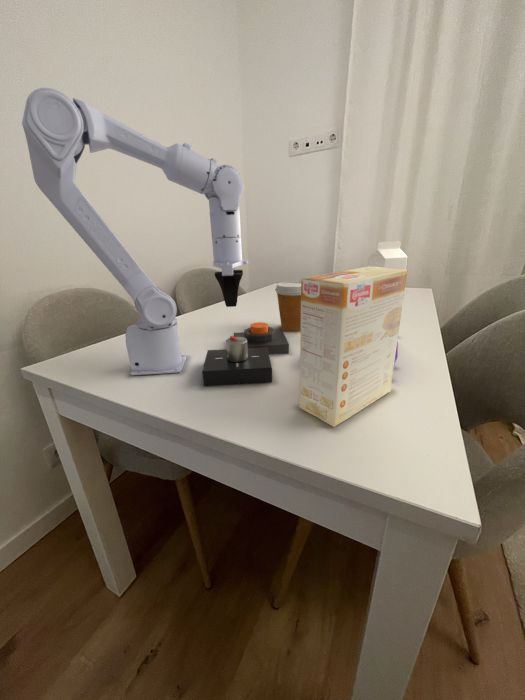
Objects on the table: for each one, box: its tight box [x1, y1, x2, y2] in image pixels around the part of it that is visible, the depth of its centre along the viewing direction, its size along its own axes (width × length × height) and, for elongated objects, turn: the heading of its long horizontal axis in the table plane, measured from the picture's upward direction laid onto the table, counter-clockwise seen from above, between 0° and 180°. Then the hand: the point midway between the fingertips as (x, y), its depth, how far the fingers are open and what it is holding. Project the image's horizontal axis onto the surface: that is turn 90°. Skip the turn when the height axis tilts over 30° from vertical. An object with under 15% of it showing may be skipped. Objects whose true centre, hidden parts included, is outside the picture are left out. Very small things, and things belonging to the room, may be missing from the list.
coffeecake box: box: [298, 266, 408, 428], centre depth 44 cm, size 15×7×20 cm, turn 129°
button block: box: [233, 326, 290, 356], centre depth 69 cm, size 12×10×4 cm
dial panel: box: [201, 347, 273, 388], centre depth 57 cm, size 12×10×3 cm
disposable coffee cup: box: [275, 280, 301, 333], centre depth 81 cm, size 10×10×12 cm
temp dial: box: [224, 335, 248, 362], centre depth 56 cm, size 4×4×4 cm
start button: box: [249, 321, 269, 334], centre depth 68 cm, size 4×4×2 cm
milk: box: [367, 240, 409, 270], centre depth 72 cm, size 6×6×22 cm
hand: (231, 305), depth 64 cm, fingers closed
